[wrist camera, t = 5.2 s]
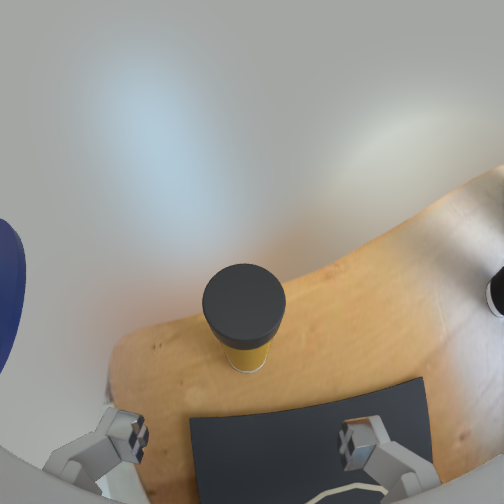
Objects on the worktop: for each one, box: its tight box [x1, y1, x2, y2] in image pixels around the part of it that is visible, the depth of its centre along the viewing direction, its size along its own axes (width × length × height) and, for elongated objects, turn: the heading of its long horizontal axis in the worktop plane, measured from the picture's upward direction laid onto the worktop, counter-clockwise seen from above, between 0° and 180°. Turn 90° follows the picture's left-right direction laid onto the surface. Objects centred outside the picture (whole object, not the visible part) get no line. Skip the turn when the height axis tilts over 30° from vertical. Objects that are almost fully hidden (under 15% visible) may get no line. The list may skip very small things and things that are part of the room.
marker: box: [202, 264, 286, 373], centre depth 16 cm, size 3×3×13 cm
